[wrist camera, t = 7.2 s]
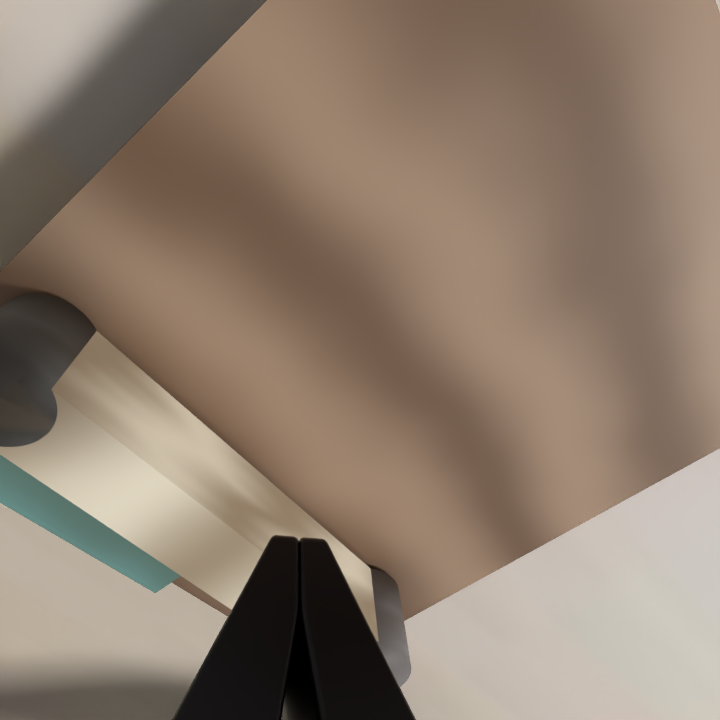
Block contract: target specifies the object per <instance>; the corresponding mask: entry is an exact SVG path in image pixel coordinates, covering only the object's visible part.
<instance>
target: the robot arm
mask: <svg viewBox="0 0 720 720" xmlns="http://www.w3.org/2000/svg"><path fill="white" fill-rule="evenodd" d="M282 711H283V720H416V719H415V717H414V715H413V713H412V711H411V709H410V707H409V705H408V703H407V701H406V699H405V697H404V695H403V693H402V691H401V689H400V687H399V685H398V683H397V681H396V679H395V677H394V675H393V673H392V671H391V669H390V667H389V665H388V663H387V661H386V659H385V657H384V655H383V653H382V651H381V649H380V647H379V645H378V643H377V641H376V639H375V637H374V635H373V633H372V631H371V629H370V627H369V625H368V623H367V621H366V619H365V617H364V615H363V613H362V611H361V609H360V607H359V605H358V603H357V601H356V599H355V597H354V595H353V593H352V591H351V589H350V586H349V584H348V582H347V580H346V578H345V576H344V574H343V572H342V570H341V568H340V566H339V564H338V562H337V560H336V558H335V556H334V554H333V552H332V550H331V548H330V546H329V544H328V543H327V541H326V540H324V539H320V538H307V537H303V538H301V539H300V540H299V541H298V538H296V537H294V536H282V535H274V536H272V537H271V538H270V540H269V542H268V544H267V545H266V547H265V549H264V551H263V553H262V555H261V557H260V558H259V560H258V562H257V564H256V566H255V568H254V570H253V571H252V573H251V575H250V577H249V579H248V581H247V582H246V584H245V586H244V588H243V590H242V592H241V594H240V595H239V597H238V599H237V601H236V603H235V605H234V606H233V608H232V610H231V612H230V614H229V616H228V618H227V619H226V621H225V623H224V625H223V627H222V629H221V631H220V632H219V634H218V636H217V638H216V640H215V642H214V643H213V645H212V647H211V649H210V651H209V653H208V655H207V656H206V658H205V660H204V662H203V664H202V666H201V668H200V669H199V671H198V673H197V675H196V677H195V679H194V680H193V682H192V684H191V686H190V688H189V690H188V692H187V693H186V695H185V697H184V699H183V701H182V703H181V704H180V706H179V708H178V710H177V712H176V714H175V716H174V717H173V719H172V720H281V717H282Z"/></svg>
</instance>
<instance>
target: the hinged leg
mask: <svg viewBox="0 0 720 720" xmlns="http://www.w3.org/2000/svg"><path fill="white" fill-rule="evenodd" d="M0 455H2V456H3V457H5V458H6V459H8V460H9V461H11V462H12V463H14V464H15V465H17V466H18V467H20V468H21V469H23V470H24V471H25V472H27V473H28V474H30V475H31V476H33V477H34V478H36V479H37V480H39V481H40V482H42V483H43V484H45V485H46V486H48V487H49V488H51V489H52V490H54V491H55V492H57V493H58V494H60V495H61V496H63V497H64V498H66V499H67V500H69V501H70V502H72V503H73V504H75V505H76V506H78V507H79V508H81V509H82V510H84V511H85V512H87V513H88V514H90V515H91V516H93V517H94V518H96V519H97V520H98V521H100V522H101V523H103V524H104V525H106V526H107V527H109V528H110V529H112V530H113V531H115V532H116V533H118V534H119V535H121V536H122V537H124V538H125V539H127V540H128V541H130V542H131V543H133V544H134V545H136V546H137V547H139V548H140V549H142V550H143V551H145V552H146V553H148V554H149V555H151V556H152V557H154V558H155V559H157V560H158V561H160V562H161V563H163V564H164V565H166V566H167V567H169V568H170V569H171V570H173V571H174V572H176V573H177V574H179V575H180V576H182V577H183V578H185V579H186V580H188V581H189V582H191V583H192V584H194V585H195V586H197V587H198V588H200V589H201V590H203V591H204V592H206V593H207V594H209V595H210V596H212V597H213V598H215V599H216V600H218V601H219V602H221V603H222V604H224V605H225V606H227V607H228V608H230V609H231V610H232V608H233V606H234V605H235V603H236V601H237V599H238V597H239V595H240V594H241V592H242V590H243V588H244V586H245V584H246V582H247V581H248V579H249V577H250V575H251V573H252V571H253V570H254V568H255V566H256V564H257V562H258V560H259V558H260V557H261V555H262V553H263V551H264V549H265V547H266V545H267V544H268V542H269V540H270V538H271V537H272V536H274V535H282V536H294V537H296V538H298V541H299V540H300V539H301V538H303V537H307V538H320V539H324V540H326V541H327V543H328V544H329V546H330V548H331V550H332V552H333V554H334V556H335V558H336V560H337V562H338V564H339V566H340V568H341V570H342V572H343V574H344V576H345V578H346V580H347V582H348V584H349V586H350V589H351V591H352V593H353V595H354V597H355V599H356V601H357V603H358V605H359V607H360V609H361V611H362V613H363V615H364V617H365V619H366V621H367V623H368V625H369V627H370V629H371V631H372V633H373V635H374V637H375V639H376V641H377V643H378V645H379V647H380V649H381V651H382V653H383V655H384V657H385V659H386V661H387V663H388V665H389V667H390V669H391V671H392V673H393V675H394V677H395V679H396V681H397V683H398V685H399V687H400V686H401V685H403V684H404V683H405V682H406V681H407V679H408V678H409V676H410V673H411V664H410V657H409V651H408V645H407V639H406V632H405V626H404V620H403V613H402V607H401V601H400V594H399V588H398V585H397V583H396V581H395V580H394V579H393V578H392V577H391V576H390V575H388V574H387V573H385V572H382V571H379V570H376V569H371V568H369V567H368V566H367V565H366V564H365V563H364V562H362V561H361V560H360V559H359V558H358V557H357V556H356V555H354V554H353V553H352V552H351V551H350V550H349V549H347V548H346V547H345V546H344V545H343V544H342V543H341V542H339V541H338V540H337V539H336V538H335V537H334V536H333V535H331V534H330V533H329V532H328V531H327V530H326V529H324V528H323V527H322V526H321V525H320V524H319V523H318V522H316V521H315V520H314V519H313V518H312V517H311V516H309V515H308V514H307V513H306V512H305V511H304V510H303V509H301V508H300V507H299V506H298V505H297V504H296V503H294V502H293V501H292V500H291V499H290V498H289V497H288V496H286V495H285V494H284V493H283V492H282V491H281V490H280V489H278V488H277V487H276V486H275V485H274V484H273V483H271V482H270V481H269V480H268V479H267V478H266V477H265V476H263V475H262V474H261V473H260V472H259V471H258V470H256V469H255V468H254V467H253V466H252V465H251V464H250V463H248V462H247V461H246V460H245V459H244V458H243V457H242V456H240V455H239V454H238V453H237V452H236V451H235V450H233V449H232V448H231V447H230V446H229V445H228V444H227V443H225V442H224V441H223V440H222V439H221V438H220V437H218V436H217V435H216V434H215V433H214V432H213V431H212V430H210V429H209V428H208V427H207V426H206V425H205V424H203V423H202V422H201V421H200V420H199V419H198V418H197V417H195V416H194V415H193V414H192V413H191V412H190V411H189V410H187V409H186V408H185V407H184V406H183V405H182V404H180V403H179V402H178V401H177V400H176V399H175V398H174V397H172V396H171V395H170V394H169V393H168V392H167V391H165V390H164V389H163V388H162V387H161V386H160V385H159V384H157V383H156V382H155V381H154V380H153V379H152V378H150V377H149V376H148V375H147V374H146V373H145V372H144V371H142V370H141V369H140V368H139V367H138V366H137V365H136V364H134V363H133V362H132V361H131V360H130V359H129V358H127V357H126V356H125V355H124V354H123V353H122V352H121V351H119V350H118V349H117V348H116V347H115V346H114V345H112V344H111V343H110V342H109V341H108V340H107V339H106V338H104V337H103V336H102V335H101V334H100V333H99V332H98V331H97V330H96V328H95V327H94V325H93V323H92V322H91V321H90V320H89V318H88V317H87V316H86V315H85V314H84V313H83V312H82V311H80V310H79V309H78V308H77V307H75V306H73V305H72V304H70V303H68V302H66V301H64V300H62V299H59V298H57V297H53V296H50V295H44V294H26V295H21V296H18V297H15V298H13V299H11V300H9V301H8V302H6V303H5V304H4V305H3V306H1V307H0Z"/></svg>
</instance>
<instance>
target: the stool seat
mask: <svg viewBox="0 0 720 720" xmlns="http://www.w3.org/2000/svg"><path fill="white" fill-rule="evenodd" d="M26 294H44V295H50V296H53V297H57V298H59V299H62V300H64V301H66V302H68V303H70V304H72V305H73V306H75V307H77V308H78V309H79V310H80V311H82V312H83V313H84V314H85V315H86V316H87V317H88V318H89V320H90V321H91V322H92V323H93V325H94V327H95V328H96V330H97V331H98V332H99V333H100V334H101V335H102V336H103V337H104V338H106V339H107V340H108V341H109V342H110V343H111V344H112V345H114V346H115V347H116V348H117V349H118V350H119V351H121V352H122V353H123V354H124V355H125V356H126V357H127V358H129V359H130V360H131V361H132V362H133V363H134V364H136V365H137V366H138V367H139V368H140V369H141V370H142V371H144V372H145V373H146V374H147V375H148V376H149V377H150V378H152V379H153V380H154V381H155V382H156V383H157V384H159V385H160V386H161V387H162V388H163V389H164V390H165V391H167V392H168V393H169V394H170V395H171V396H172V397H174V398H175V399H176V400H177V401H178V402H179V403H180V404H182V405H183V406H184V407H185V408H186V409H187V410H189V411H190V412H191V413H192V414H193V415H194V416H195V417H197V418H198V419H199V420H200V421H201V422H202V423H203V424H205V425H206V426H207V427H208V428H209V429H210V430H212V431H213V432H214V433H215V434H216V435H217V436H218V437H220V438H221V439H222V440H223V441H224V442H225V443H227V444H228V445H229V446H230V447H231V448H232V449H233V450H235V451H236V452H237V453H238V454H239V455H240V456H242V457H243V458H244V459H245V460H246V461H247V462H248V463H250V464H251V465H252V466H253V467H254V468H255V469H256V470H258V471H259V472H260V473H261V474H262V475H263V476H265V477H266V478H267V479H268V480H269V481H270V482H271V483H273V484H274V485H275V486H276V487H277V488H278V489H280V490H281V491H282V492H283V493H284V494H285V495H286V496H288V497H289V498H290V499H291V500H292V501H293V502H294V503H296V504H297V505H298V506H299V507H300V508H301V509H303V510H304V511H305V512H306V513H307V514H308V515H309V516H311V517H312V518H313V519H314V520H315V521H316V522H318V523H319V524H320V525H321V526H322V527H323V528H324V529H326V530H327V531H328V532H329V533H330V534H331V535H333V536H334V537H335V538H336V539H337V540H338V541H339V542H341V543H342V544H343V545H344V546H345V547H346V548H347V549H349V550H350V551H351V552H352V553H353V554H354V555H356V556H357V557H358V558H359V559H360V560H361V561H362V562H364V563H365V564H366V565H367V566H368V567H369V568H371V569H376V570H379V571H382V572H385V573H387V574H388V575H390V576H391V577H392V578H393V579H394V580H395V581H396V583H397V585H398V588H399V594H400V601H401V607H402V613H403V620H404V621H405V620H407V619H408V618H410V617H412V616H414V615H416V614H417V613H419V612H421V611H423V610H425V609H427V608H428V607H430V606H432V605H434V604H436V603H438V602H439V601H441V600H443V599H445V598H447V597H449V596H450V595H452V594H454V593H456V592H458V591H460V590H461V589H463V588H465V587H467V586H469V585H471V584H472V583H474V582H476V581H478V580H480V579H481V578H483V577H485V576H487V575H489V574H491V573H492V572H494V571H496V570H498V569H500V568H502V567H503V566H505V565H507V564H509V563H511V562H513V561H514V560H516V559H518V558H520V557H522V556H524V555H525V554H527V553H529V552H531V551H533V550H535V549H536V548H538V547H540V546H542V545H544V544H545V543H547V542H549V541H551V540H553V539H555V538H556V537H558V536H560V535H562V534H564V533H566V532H567V531H569V530H571V529H573V528H575V527H577V526H578V525H580V524H582V523H584V522H586V521H588V520H589V519H591V518H593V517H595V516H597V515H598V514H600V513H602V512H604V511H606V510H608V509H609V508H611V507H613V506H615V505H617V504H619V503H620V502H622V501H624V500H626V499H628V498H630V497H631V496H633V495H635V494H637V493H639V492H641V491H642V490H644V489H646V488H648V487H650V486H652V485H653V484H655V483H657V482H659V481H661V480H662V479H664V478H666V477H668V476H670V475H672V474H673V473H675V472H677V471H679V470H681V469H683V468H684V467H686V466H688V465H690V464H692V463H694V462H695V461H697V460H699V459H701V458H703V457H705V456H706V455H708V454H710V453H712V452H714V451H715V450H717V449H719V448H720V12H719V9H718V7H717V4H716V1H715V0H267V1H266V2H265V3H264V4H263V5H262V6H261V7H260V8H259V9H258V10H257V11H256V12H255V13H254V14H253V15H252V16H251V17H250V18H249V19H248V20H247V21H246V22H245V23H244V24H243V25H242V26H241V27H240V28H239V29H238V30H237V31H236V32H235V33H234V34H233V35H232V36H231V37H230V38H229V39H228V41H227V42H226V43H225V44H224V45H223V46H222V47H221V48H220V49H219V50H218V51H217V52H216V53H215V54H214V55H213V56H212V57H211V58H210V59H209V60H208V61H207V62H206V63H205V64H204V65H203V66H202V67H201V68H200V69H199V70H198V71H197V72H196V73H195V74H194V75H193V76H192V77H191V78H190V79H189V80H188V81H187V82H186V83H185V84H184V85H183V86H182V87H181V88H180V89H179V90H178V91H177V92H176V93H175V94H174V95H173V96H172V97H171V99H170V100H169V101H168V102H167V103H166V104H165V105H164V106H163V107H162V108H161V109H160V110H159V111H158V112H157V113H156V114H155V115H154V116H153V117H152V118H151V119H150V120H149V121H148V122H147V123H146V124H145V125H144V126H143V127H142V128H141V129H140V130H139V131H138V132H137V133H136V134H135V135H134V136H133V137H132V138H131V139H130V140H129V141H128V142H127V143H126V144H125V145H124V146H123V147H122V148H121V149H120V150H119V151H118V152H117V153H116V154H115V155H114V157H113V158H112V159H111V160H110V161H109V162H108V163H107V164H106V165H105V166H104V167H103V168H102V169H101V170H100V171H99V172H98V173H97V174H96V175H95V176H94V177H93V178H92V179H91V180H90V181H89V182H88V183H87V184H86V185H85V186H84V187H83V188H82V189H81V190H80V191H79V192H78V193H77V194H76V195H75V196H74V197H73V198H72V199H71V200H70V201H69V202H68V203H67V204H66V205H65V206H64V207H63V208H62V209H61V210H60V211H59V212H58V213H57V215H56V216H55V217H54V218H53V219H52V220H51V221H50V222H49V223H48V224H47V225H46V226H45V227H44V228H43V229H42V230H41V231H40V232H39V233H38V234H37V235H36V236H35V237H34V238H33V239H32V240H31V241H30V242H29V243H28V244H27V245H26V246H25V247H24V248H23V249H22V250H21V251H20V252H19V253H18V254H17V255H16V256H15V257H14V258H13V259H12V260H11V261H10V262H9V263H8V264H7V265H6V266H5V267H4V268H3V269H2V270H1V271H0V307H1V306H3V305H4V304H5V303H6V302H8V301H9V300H11V299H13V298H15V297H18V296H21V295H26ZM0 503H2V504H3V505H5V506H7V507H8V508H10V509H12V510H14V511H15V512H17V513H19V514H20V515H22V516H24V517H26V518H27V519H29V520H31V521H32V522H34V523H36V524H38V525H39V526H41V527H43V528H45V529H46V530H48V531H50V532H51V533H53V534H55V535H57V536H58V537H60V538H62V539H63V540H65V541H67V542H69V543H70V544H72V545H74V546H75V547H77V548H79V549H81V550H82V551H84V552H86V553H87V554H89V555H91V556H93V557H94V558H96V559H98V560H99V561H101V562H103V563H105V564H106V565H108V566H110V567H111V568H113V569H115V570H117V571H118V572H120V573H122V574H123V575H125V576H127V577H129V578H130V579H132V580H134V581H135V582H137V583H139V584H141V585H142V586H144V587H146V588H147V589H149V590H151V591H153V592H154V593H156V592H158V591H159V590H161V589H162V588H164V587H165V586H167V585H168V584H170V583H171V582H172V583H174V584H175V585H177V586H178V587H180V588H182V589H183V590H185V591H187V592H188V593H190V594H192V595H193V596H195V597H197V598H198V599H200V600H202V601H203V602H205V603H207V604H208V605H210V606H212V607H213V608H215V609H217V610H218V611H220V612H221V613H223V614H225V615H226V616H229V614H230V612H231V609H230V608H228V607H227V606H225V605H224V604H222V603H221V602H219V601H218V600H216V599H215V598H213V597H212V596H210V595H209V594H207V593H206V592H204V591H203V590H201V589H200V588H198V587H197V586H195V585H194V584H192V583H191V582H189V581H188V580H186V579H185V578H183V577H182V576H180V575H179V574H177V573H176V572H174V571H173V570H171V569H170V568H169V567H167V566H166V565H164V564H163V563H161V562H160V561H158V560H157V559H155V558H154V557H152V556H151V555H149V554H148V553H146V552H145V551H143V550H142V549H140V548H139V547H137V546H136V545H134V544H133V543H131V542H130V541H128V540H127V539H125V538H124V537H122V536H121V535H119V534H118V533H116V532H115V531H113V530H112V529H110V528H109V527H107V526H106V525H104V524H103V523H101V522H100V521H98V520H97V519H96V518H94V517H93V516H91V515H90V514H88V513H87V512H85V511H84V510H82V509H81V508H79V507H78V506H76V505H75V504H73V503H72V502H70V501H69V500H67V499H66V498H64V497H63V496H61V495H60V494H58V493H57V492H55V491H54V490H52V489H51V488H49V487H48V486H46V485H45V484H43V483H42V482H40V481H39V480H37V479H36V478H34V477H33V476H31V475H30V474H28V473H27V472H25V471H24V470H23V469H21V468H20V467H18V466H17V465H15V464H14V463H12V462H11V461H9V460H8V459H6V458H5V457H3V456H2V455H0Z"/></svg>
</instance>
